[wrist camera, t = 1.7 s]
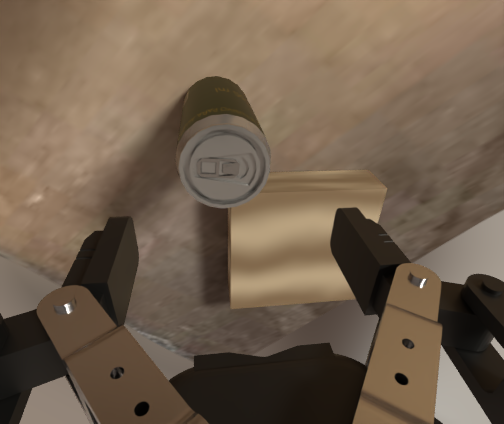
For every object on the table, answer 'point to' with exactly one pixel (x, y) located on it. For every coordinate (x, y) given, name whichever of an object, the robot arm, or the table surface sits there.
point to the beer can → (221, 145)
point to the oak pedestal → (295, 237)
